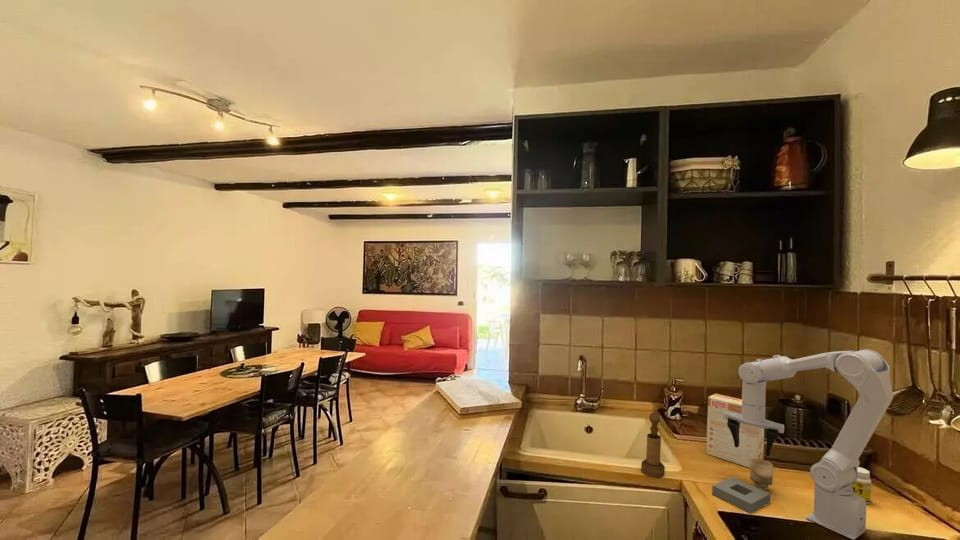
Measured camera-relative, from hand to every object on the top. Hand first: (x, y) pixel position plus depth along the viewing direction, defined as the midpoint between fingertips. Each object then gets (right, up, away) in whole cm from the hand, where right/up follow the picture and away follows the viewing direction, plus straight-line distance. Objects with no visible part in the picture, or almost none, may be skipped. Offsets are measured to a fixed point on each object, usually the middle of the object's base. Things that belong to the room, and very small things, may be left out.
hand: (752, 450), depth 121 cm
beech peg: (+1, -10, -2) cm, 10 cm away
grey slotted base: (-8, -10, -7) cm, 15 cm away
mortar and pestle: (-26, -10, +6) cm, 29 cm away
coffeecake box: (+5, -10, +17) cm, 20 cm away
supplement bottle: (+25, -11, -6) cm, 28 cm away
